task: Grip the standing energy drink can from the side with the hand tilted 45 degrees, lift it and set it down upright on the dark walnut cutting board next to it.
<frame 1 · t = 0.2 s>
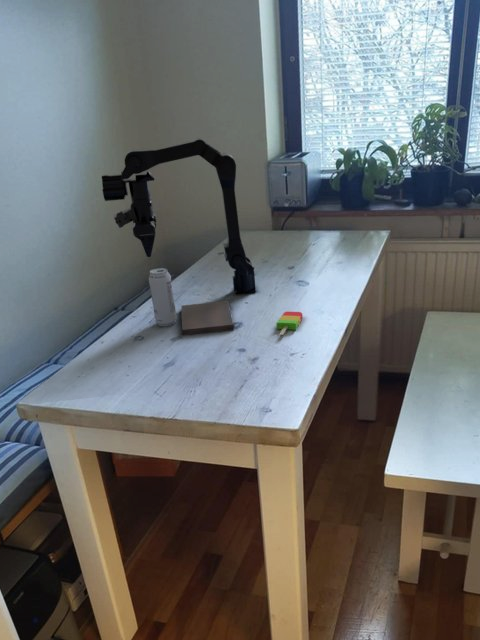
hand: (149, 252, 183), 15 cm above the table, tool pointing down, fingers open, 9 cm apart
energy drink can: (166, 323, 173), on the table
popsicle: (287, 328, 164), on the table
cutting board: (206, 319, 173), on the table
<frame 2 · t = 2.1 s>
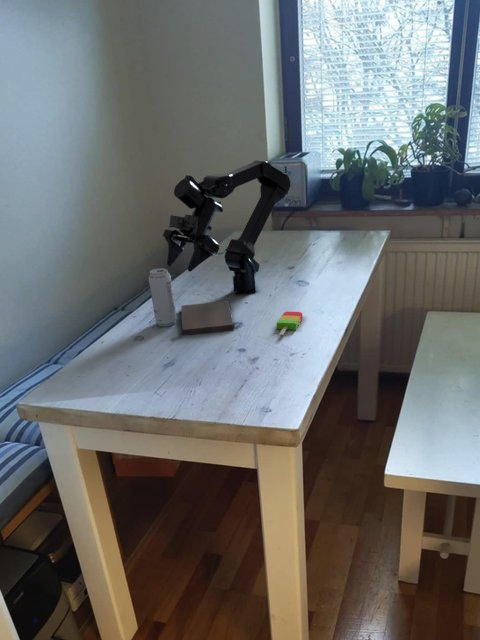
hand: (178, 268, 171), 13 cm above the table, tool tilted 40°, fingers open, 9 cm apart
nothing on the table moved.
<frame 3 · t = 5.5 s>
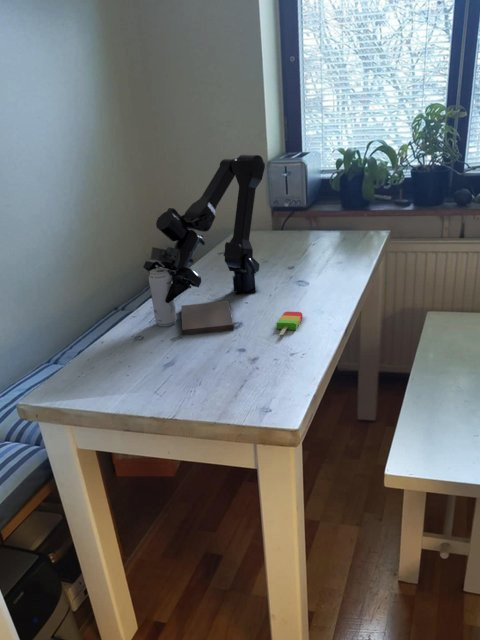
hand: (159, 300, 168), 7 cm above the table, tool tilted 45°, fingers closed on energy drink can, 6 cm apart
energy drink can: (166, 323, 173), on the table, touching gripper
everything else where it was.
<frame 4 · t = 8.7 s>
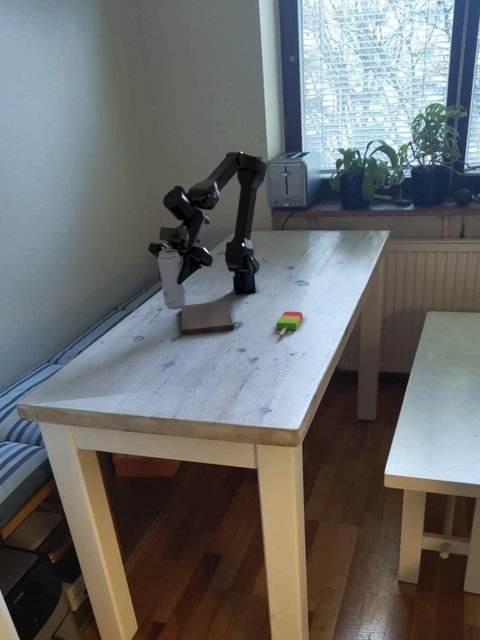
hand: (169, 282, 163), 13 cm above the table, tool tilted 45°, fingers closed on energy drink can, 6 cm apart
energy drink can: (176, 307, 168), point 5 cm above the table, touching gripper
everything else where it was.
when the fingers open (9 cm above the table, at t = 11.9 s): energy drink can stays where it is, resting on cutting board.
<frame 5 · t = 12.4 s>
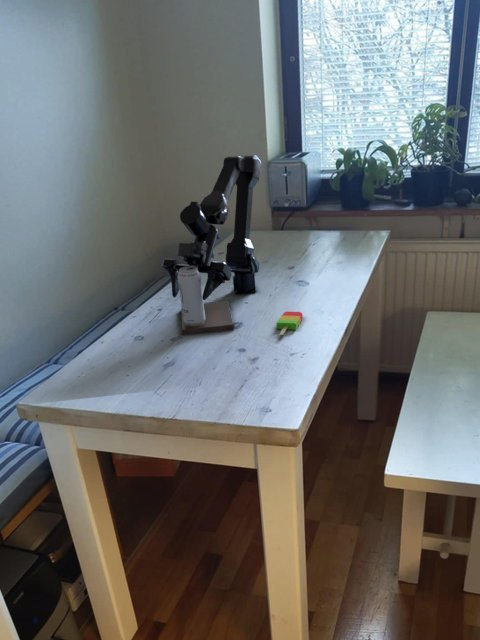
hand: (188, 298, 162), 9 cm above the table, tool tilted 45°, fingers open, 9 cm apart
energy drink can: (195, 323, 167), point 1 cm above the table, touching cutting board
everything else where it was.
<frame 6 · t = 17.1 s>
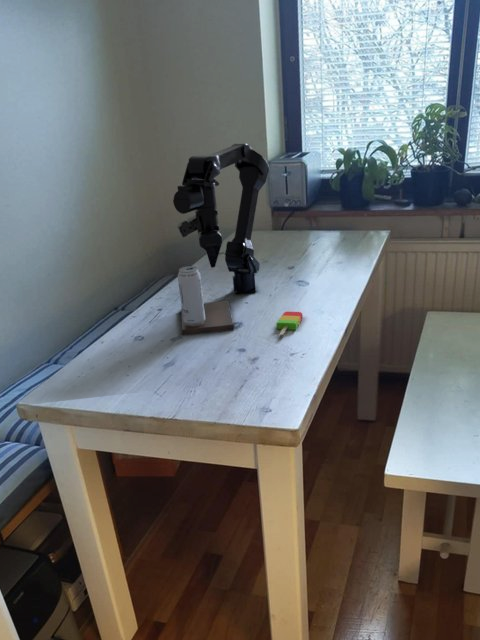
hand: (212, 262, 175), 13 cm above the table, tool pointing down, fingers open, 9 cm apart
nothing on the table moved.
at the end: energy drink can inside the target area on the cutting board (6.7 cm from its centre), point 1.3 cm above the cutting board's base; energy drink can tilted 0°; the gripper is holding nothing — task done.
